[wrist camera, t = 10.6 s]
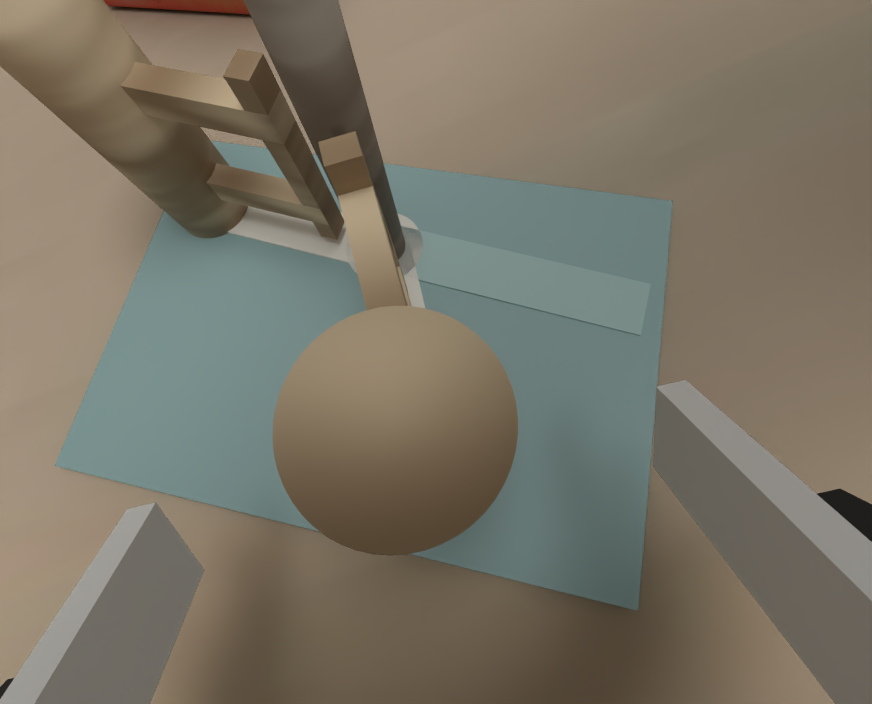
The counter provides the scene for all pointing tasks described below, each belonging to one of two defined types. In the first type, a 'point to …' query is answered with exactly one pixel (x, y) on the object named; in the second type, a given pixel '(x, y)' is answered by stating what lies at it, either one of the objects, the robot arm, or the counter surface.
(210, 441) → the card
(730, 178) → the counter surface
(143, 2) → the cracker box
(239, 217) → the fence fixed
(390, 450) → the fence panel
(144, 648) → the robot arm
